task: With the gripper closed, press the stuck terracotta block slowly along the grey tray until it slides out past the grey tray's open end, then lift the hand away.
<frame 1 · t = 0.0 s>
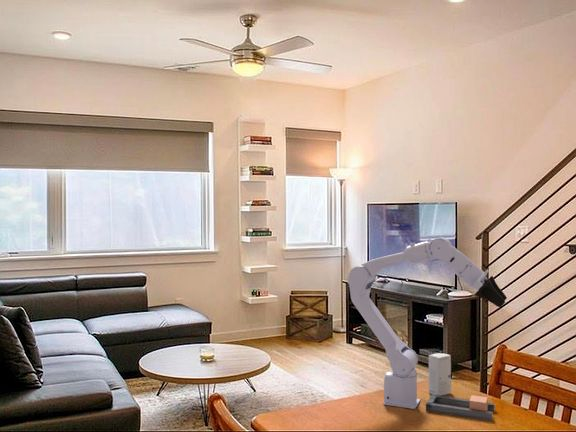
hand: (503, 302, 151), 32 cm above the table, tool tilted 50°, fingers open, 7 cm apart
skincare box: (439, 393, 173), on the table
block: (478, 405, 156), point 2 cm above the table, slide at 0.0 cm
grey tray: (460, 410, 158), on the table
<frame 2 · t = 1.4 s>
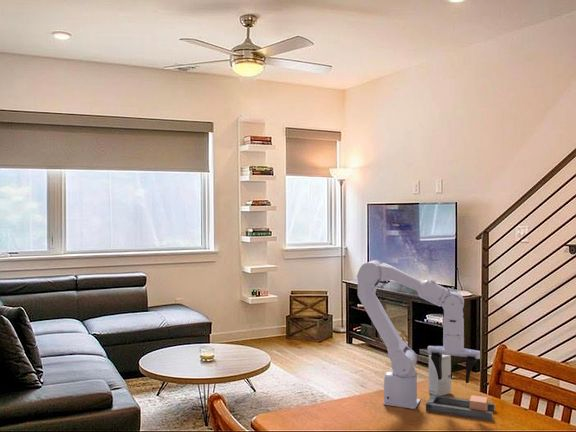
hand: (453, 380, 158), 8 cm above the table, tool pointing down, fingers open, 7 cm apart
nothing on the table moved.
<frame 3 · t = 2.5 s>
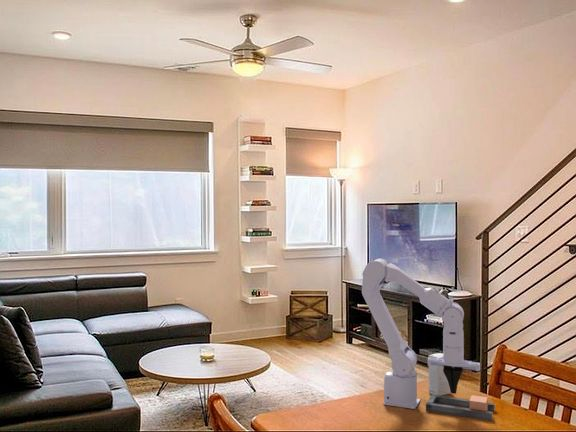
hand: (453, 392, 158), 5 cm above the table, tool pointing down, fingers closed
nothing on the table moved.
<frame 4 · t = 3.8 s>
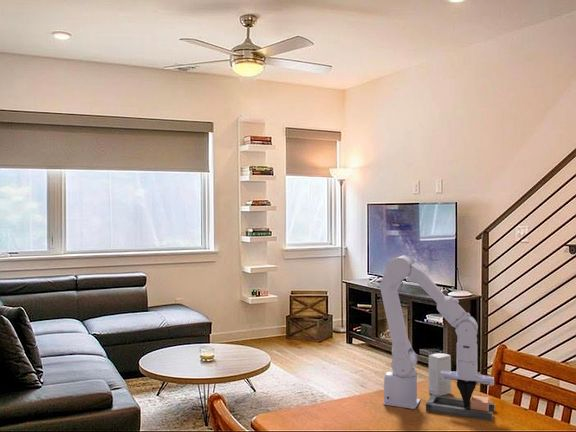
hand: (466, 406, 157), 1 cm above the table, tool pointing down, fingers closed
block: (479, 406, 155), point 2 cm above the table, slide at 0.4 cm, touching gripper
everything else where it was.
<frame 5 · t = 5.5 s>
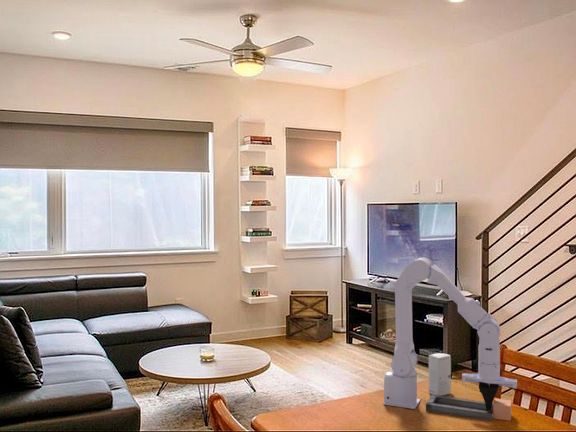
hand: (488, 409, 154), 1 cm above the table, tool pointing down, fingers closed
block: (502, 409, 153), point 2 cm above the table, slide at 6.4 cm, touching gripper
everything else where it was.
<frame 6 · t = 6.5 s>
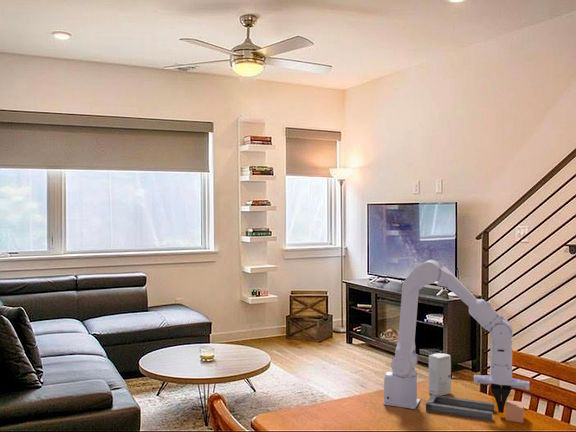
hand: (501, 411, 153), 1 cm above the table, tool pointing down, fingers closed
block: (514, 411, 152), point 2 cm above the table, slide at 9.6 cm, touching gripper
everything else where it was.
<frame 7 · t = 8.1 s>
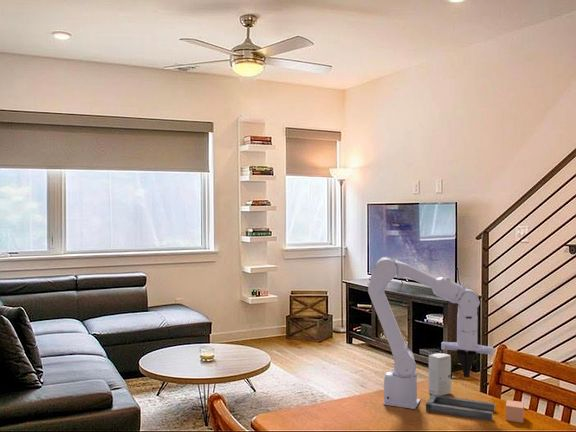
hand: (466, 376, 160), 9 cm above the table, tool pointing down, fingers closed
block: (514, 411, 152), point 2 cm above the table, slide at 9.6 cm
everything else where it was.
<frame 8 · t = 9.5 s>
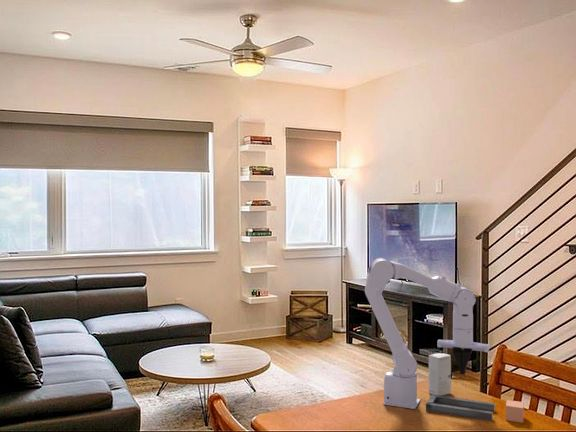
hand: (462, 373, 162), 9 cm above the table, tool pointing down, fingers closed
nothing on the table moved.
at the end: block slide at 9.6 cm; skincare box moved 0.2 cm from its start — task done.
